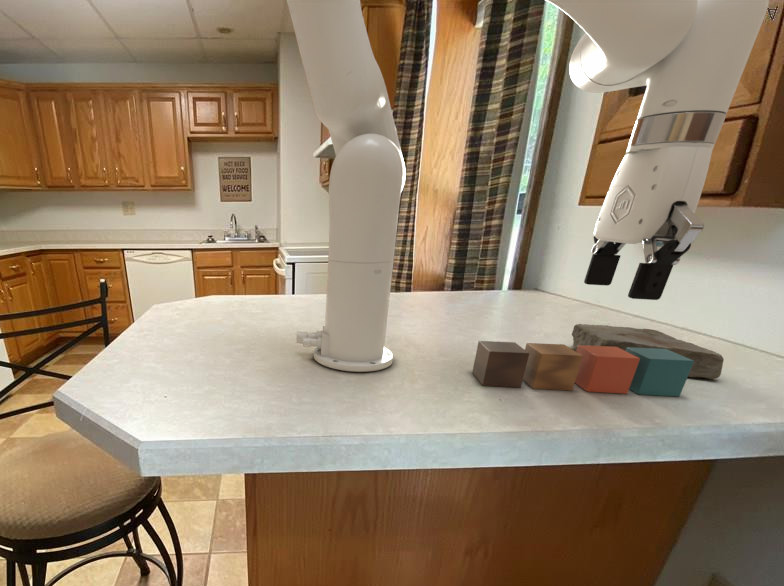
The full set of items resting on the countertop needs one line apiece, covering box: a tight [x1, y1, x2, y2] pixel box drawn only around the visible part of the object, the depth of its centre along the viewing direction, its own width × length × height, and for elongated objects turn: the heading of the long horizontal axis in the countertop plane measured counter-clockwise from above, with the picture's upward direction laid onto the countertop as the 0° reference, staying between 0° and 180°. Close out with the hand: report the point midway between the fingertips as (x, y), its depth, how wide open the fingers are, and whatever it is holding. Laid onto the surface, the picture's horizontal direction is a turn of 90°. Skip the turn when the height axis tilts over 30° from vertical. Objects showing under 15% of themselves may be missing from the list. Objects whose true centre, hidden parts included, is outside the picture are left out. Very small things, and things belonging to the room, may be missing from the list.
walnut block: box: [471, 340, 529, 389], centre depth 59 cm, size 5×5×5 cm
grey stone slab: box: [571, 323, 724, 380], centre depth 68 cm, size 17×15×4 cm
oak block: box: [523, 342, 582, 391], centre depth 59 cm, size 5×5×5 cm
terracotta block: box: [574, 345, 640, 395], centre depth 58 cm, size 5×5×5 cm
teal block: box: [626, 347, 694, 397], centre depth 57 cm, size 5×5×5 cm
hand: (618, 291), depth 54 cm, fingers open, 9 cm apart
